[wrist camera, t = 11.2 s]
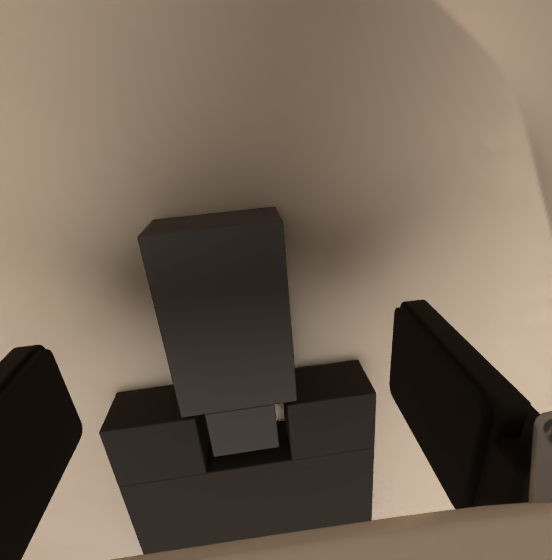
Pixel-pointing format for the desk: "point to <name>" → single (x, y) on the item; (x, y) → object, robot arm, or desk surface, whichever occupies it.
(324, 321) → the desk surface
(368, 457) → the black notched block
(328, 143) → the desk surface
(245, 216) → the dark grey block
